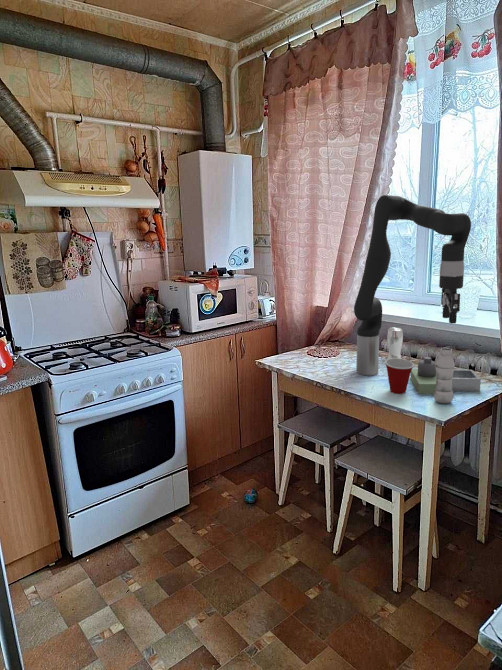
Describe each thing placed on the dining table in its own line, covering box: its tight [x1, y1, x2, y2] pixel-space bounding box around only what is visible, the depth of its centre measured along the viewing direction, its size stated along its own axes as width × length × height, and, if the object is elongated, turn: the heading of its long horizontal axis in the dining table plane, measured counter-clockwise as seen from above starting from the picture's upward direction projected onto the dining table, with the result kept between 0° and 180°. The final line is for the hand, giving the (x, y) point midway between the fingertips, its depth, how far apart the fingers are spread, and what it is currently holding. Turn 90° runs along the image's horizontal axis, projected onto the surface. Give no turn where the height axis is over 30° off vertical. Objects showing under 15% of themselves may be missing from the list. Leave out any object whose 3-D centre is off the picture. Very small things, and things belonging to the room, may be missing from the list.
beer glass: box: [386, 327, 404, 359], centre depth 217 cm, size 7×7×15 cm
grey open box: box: [452, 369, 482, 392], centre depth 181 cm, size 11×11×5 cm
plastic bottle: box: [432, 347, 456, 405], centre depth 165 cm, size 6×7×20 cm
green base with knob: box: [409, 356, 436, 395], centre depth 182 cm, size 12×18×11 cm, turn 171°
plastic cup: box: [384, 358, 415, 395], centre depth 178 cm, size 11×11×12 cm
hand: (449, 320), depth 160 cm, fingers open, 8 cm apart
